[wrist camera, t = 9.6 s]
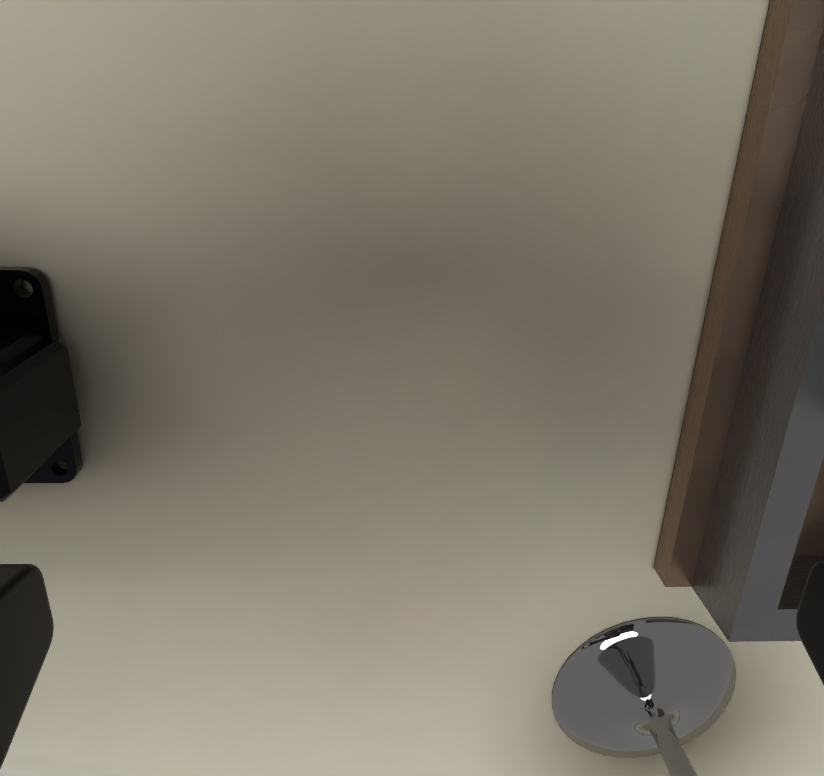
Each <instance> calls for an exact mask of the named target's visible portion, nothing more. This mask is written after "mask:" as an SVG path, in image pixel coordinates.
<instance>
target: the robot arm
mask: <svg viewBox="0 0 824 776" xmlns="http://www.w3.org/2000/svg"><path fill="white" fill-rule="evenodd" d="M22 279H23V280H26V281H28V282H29V283H30V284H31V286H32V288H33V294H28V293H26V292H25V291H24V290H23V289H22V287H21V280H22ZM80 425H81V420H80V415H79V409H78V404H77V399H76V393H75V388H74V382H73V377H72V371H71V366H70V361H69V355H68V350H67V348H66V347H65V346H64V344H63V343H62V342H61V341H60V340H59V335H58V329H57V324H56V319H55V313H54V308H53V303H52V297H51V292H50V287H49V284H48V281H47V279H46V277H45V276H44V275H43V274H42V273H41V272H39V271H38V270H36V269H34V268H29V267H0V502H3V501H5V500H7V499H8V498H9V497H10V496H11V495H12V494H13V493H14V492H15V491H16V490H17V489H18V488H19V487H20V486H21V485H22V484H23V483H65V482H70V481H71V480H73V479H74V478H75V477H76V476H77V475H78V473H79V472H80V471H81V469H82V457H81V452H80V446H79V441H78V436H77V429H78V428H79V427H80ZM57 461H61V462H64V463H65V464H66V465H67V466H68V468H69V469H63V468H61V467H60V466H59V465H58V463H57ZM796 625H797V630H798V634H799V636H800V639H801V641H802V643H803V645H804V647H805V649H806V651H807V653H808V655H809V657H810V659H811V661H812V663H813V665H814V667H815V669H816V671H817V673H818V675H819V677H820V679H821V681H822V683H823V685H824V560H823V561H820V562H817V563H816V564H815V565H814V566H813V567H812V568H811V570H810V573H809V576H808V579H807V582H806V585H805V588H804V591H803V595H802V598H801V601H800V604H799V607H798V610H797V614H796ZM52 637H53V618H52V614H51V609H50V605H49V601H48V596H47V592H46V588H45V583H44V579H43V575H42V573H41V571H40V569H39V568H38V567H37V566H34V565H32V564H1V565H0V769H1V766H2V764H3V762H4V759H5V757H6V755H7V752H8V750H9V747H10V745H11V742H12V740H13V737H14V735H15V732H16V730H17V727H18V725H19V722H20V720H21V717H22V715H23V712H24V710H25V707H26V705H27V702H28V700H29V697H30V695H31V692H32V690H33V687H34V685H35V682H36V680H37V677H38V675H39V672H40V670H41V667H42V665H43V662H44V660H45V657H46V655H47V652H48V650H49V647H50V644H51V641H52Z"/></svg>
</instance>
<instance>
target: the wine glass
mask: <svg viewBox="0 0 824 776" xmlns="http://www.w3.org/2000/svg"><path fill="white" fill-rule="evenodd" d="M735 681H736V671H735V662H734V660H733V657H732V654H731V652H730V650H729V649H728V647H727V646H726V644H725V643H724V641H722V640H721V639H720V638H719V637H718V636H717V635H716V634H715V633H714V632H712V631H710V630H708V629H707V628H705V627H703V626H701V625H699V624H696V623H693V622H690V621H687V620H681V619H676V618H661V617H655V618H646V619H638V620H634V621H630V622H626V623H622V624H620V625H617V626H614V627H612V628H609V629H607V630H605V631H603V632H601V633H599V634H598V635H596V636H594V637H592V638H591V639H589V640H588V641H587V642H585V643H584V644H583V645H581V646H580V647H579V648H578V649H577V650H576V651H575V652H574V653H573V654H572V655H571V656H570V657H569V658H568V659H567V661H566V662H565V664H564V665H563V667H562V668H561V670H560V671H559V674H558V676H557V678H556V680H555V683H554V687H553V692H552V708H553V712H554V716H555V718H556V720H557V722H558V724H559V726H560V728H561V729H562V730H563V731H564V732H565V733H566V735H567V736H568V737H569V738H570V739H572V740H573V741H574V742H576V743H577V744H578V745H580V746H582V747H584V748H586V749H588V750H590V751H592V752H596V753H599V754H602V755H607V756H614V757H642V756H649V755H654V754H658V753H661V755H662V757H663V759H664V762H665V764H666V767H667V769H668V772H669V774H670V776H698V775H697V773H696V772H695V770H694V768H693V767H692V765H691V763H690V761H689V759H688V757H687V755H686V754H685V752H684V750H683V748H682V746H681V745H683V744H685V743H687V742H689V741H691V740H692V739H694V738H695V737H697V736H698V735H700V734H701V733H703V732H704V731H705V730H706V729H708V728H709V727H710V726H711V725H712V724H713V723H714V722H715V721H716V720H717V719H718V718H719V716H720V715H721V714H722V713H723V712H724V710H725V708H726V707H727V705H728V703H729V702H730V700H731V697H732V694H733V691H734V688H735Z"/></svg>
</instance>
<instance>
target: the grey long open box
mask: <svg viewBox="0 0 824 776" xmlns="http://www.w3.org/2000/svg"><path fill="white" fill-rule="evenodd" d="M823 560H824V0H770V5H769V9H768V14H767V19H766V24H765V29H764V34H763V39H762V44H761V48H760V53H759V58H758V63H757V68H756V73H755V78H754V82H753V87H752V92H751V97H750V102H749V107H748V112H747V116H746V121H745V126H744V131H743V136H742V141H741V146H740V151H739V155H738V160H737V165H736V170H735V175H734V180H733V185H732V189H731V194H730V199H729V204H728V209H727V214H726V219H725V224H724V228H723V233H722V238H721V243H720V248H719V253H718V258H717V262H716V267H715V272H714V277H713V282H712V287H711V292H710V296H709V301H708V306H707V311H706V316H705V321H704V326H703V331H702V335H701V340H700V345H699V350H698V355H697V360H696V365H695V369H694V374H693V379H692V384H691V389H690V394H689V399H688V403H687V408H686V413H685V418H684V423H683V428H682V433H681V438H680V442H679V447H678V452H677V457H676V462H675V467H674V472H673V476H672V481H671V486H670V491H669V496H668V501H667V506H666V510H665V515H664V520H663V525H662V530H661V535H660V540H659V545H658V549H657V554H656V559H655V564H654V569H655V571H656V572H657V574H658V575H659V577H660V579H661V580H662V582H663V584H664V585H665V587H687V586H692V588H693V589H694V591H695V592H696V594H697V595H698V597H699V598H700V600H701V601H702V603H703V604H704V605H705V607H706V608H707V610H708V611H709V613H710V614H711V616H712V617H713V619H714V620H715V622H716V623H717V625H718V626H719V628H720V629H721V631H722V632H723V634H724V635H725V637H726V638H727V639H728V641H729V642H737V641H801V639H800V636H799V634H798V630H797V625H796V614H797V610H798V607H799V604H800V601H801V598H802V595H803V591H804V588H805V585H806V582H807V579H808V576H809V573H810V570H811V568H812V567H813V566H814V565H815V564H816V563H817V562H820V561H823Z"/></svg>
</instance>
